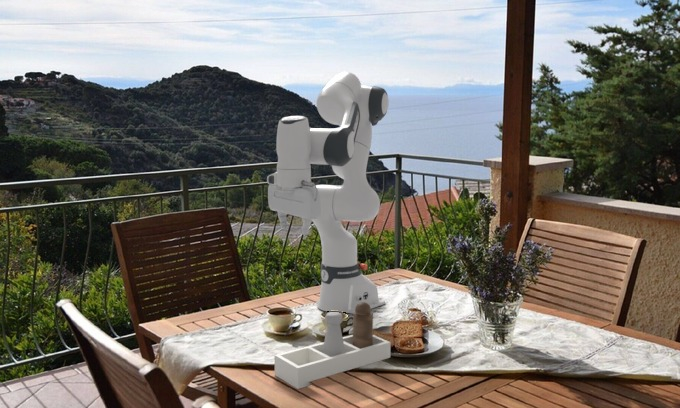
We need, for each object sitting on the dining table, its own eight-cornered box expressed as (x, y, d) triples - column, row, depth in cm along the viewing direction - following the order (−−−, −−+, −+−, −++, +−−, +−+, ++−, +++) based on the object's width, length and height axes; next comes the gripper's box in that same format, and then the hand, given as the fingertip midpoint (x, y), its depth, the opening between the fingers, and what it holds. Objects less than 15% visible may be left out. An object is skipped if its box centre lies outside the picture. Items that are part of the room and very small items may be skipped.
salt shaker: (343, 369, 162) (343, 317, 160) (320, 367, 163) (319, 316, 161) (347, 360, 167) (347, 310, 165) (324, 358, 168) (324, 308, 166)
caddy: (365, 349, 177) (365, 331, 177) (390, 361, 170) (390, 342, 169) (274, 374, 161) (274, 355, 160) (297, 389, 153) (297, 368, 152)
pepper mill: (363, 350, 174) (364, 298, 172) (376, 356, 170) (377, 303, 168) (348, 354, 171) (349, 301, 169) (361, 361, 167) (361, 306, 165)
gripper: (327, 182, 168) (327, 236, 170) (283, 174, 184) (284, 224, 186) (306, 183, 164) (306, 239, 166) (263, 176, 180) (264, 227, 182)
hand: (294, 231), depth 176 cm, fingers open, 8 cm apart
